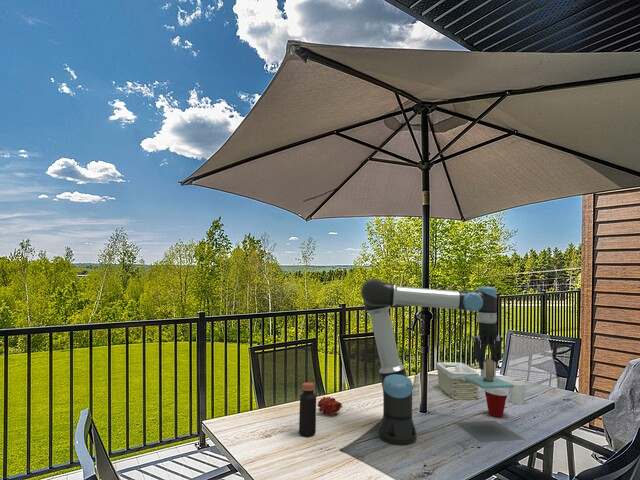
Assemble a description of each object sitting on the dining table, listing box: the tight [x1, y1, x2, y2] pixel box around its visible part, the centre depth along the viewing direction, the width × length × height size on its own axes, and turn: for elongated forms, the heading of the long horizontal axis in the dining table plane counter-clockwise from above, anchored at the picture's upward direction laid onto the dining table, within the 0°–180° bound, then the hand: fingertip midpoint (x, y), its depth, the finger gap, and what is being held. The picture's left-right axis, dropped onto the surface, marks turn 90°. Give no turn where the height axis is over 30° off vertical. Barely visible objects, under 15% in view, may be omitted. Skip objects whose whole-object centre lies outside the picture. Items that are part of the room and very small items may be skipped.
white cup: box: [508, 380, 526, 405], centre depth 207 cm, size 8×8×10 cm
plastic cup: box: [483, 388, 509, 419], centre depth 186 cm, size 11×11×12 cm
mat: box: [454, 420, 525, 443], centre depth 168 cm, size 20×20×1 cm
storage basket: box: [436, 361, 481, 400], centre depth 221 cm, size 24×16×15 cm
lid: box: [465, 358, 514, 390], centre depth 170 cm, size 14×14×10 cm
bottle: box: [298, 381, 317, 438], centre depth 162 cm, size 7×7×20 cm
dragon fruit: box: [316, 396, 343, 416], centre depth 184 cm, size 8×8×12 cm
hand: (488, 376), depth 170 cm, fingers closed on lid, 4 cm apart
